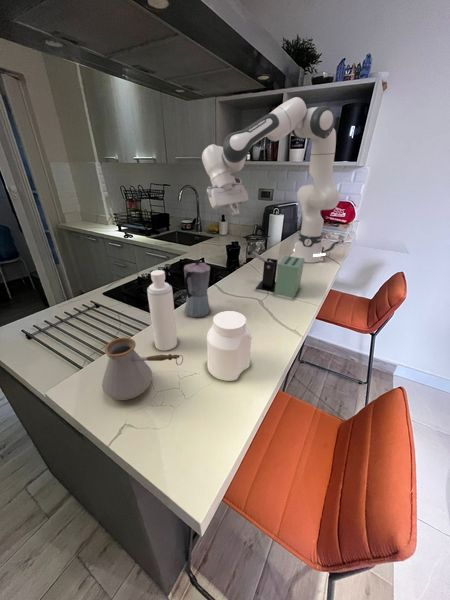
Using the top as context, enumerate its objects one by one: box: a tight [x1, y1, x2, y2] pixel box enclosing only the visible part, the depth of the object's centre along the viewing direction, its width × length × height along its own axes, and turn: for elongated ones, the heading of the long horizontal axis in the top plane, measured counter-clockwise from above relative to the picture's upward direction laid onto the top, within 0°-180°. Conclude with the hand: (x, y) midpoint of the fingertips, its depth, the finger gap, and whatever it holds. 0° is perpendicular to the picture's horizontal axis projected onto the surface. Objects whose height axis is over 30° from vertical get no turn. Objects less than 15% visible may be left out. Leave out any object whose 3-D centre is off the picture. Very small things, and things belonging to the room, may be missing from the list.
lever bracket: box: [255, 257, 279, 294], centre depth 110 cm, size 8×10×13 cm
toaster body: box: [274, 255, 305, 299], centre depth 107 cm, size 8×12×14 cm, turn 154°
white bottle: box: [146, 269, 178, 351], centre depth 72 cm, size 7×7×25 cm
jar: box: [206, 310, 253, 382], centre depth 67 cm, size 12×10×15 cm
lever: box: [247, 248, 272, 263], centre depth 109 cm, size 12×5×2 cm, turn 65°
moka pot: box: [183, 259, 211, 318], centre depth 90 cm, size 10×15×20 cm, turn 164°
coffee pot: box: [101, 337, 184, 401], centre depth 58 cm, size 21×12×15 cm, turn 69°
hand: (236, 214), depth 111 cm, fingers closed
